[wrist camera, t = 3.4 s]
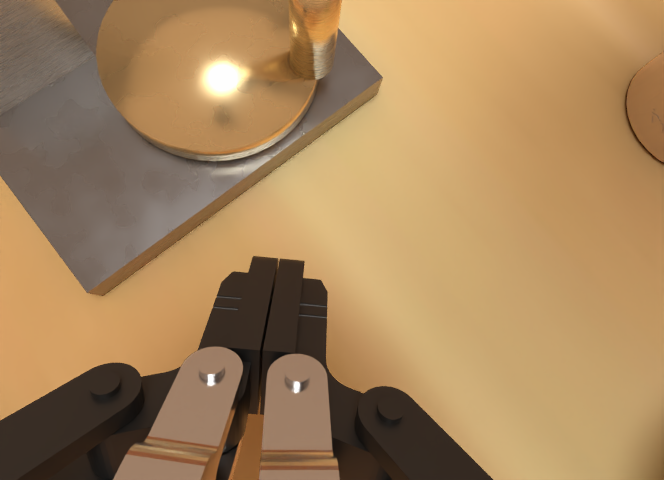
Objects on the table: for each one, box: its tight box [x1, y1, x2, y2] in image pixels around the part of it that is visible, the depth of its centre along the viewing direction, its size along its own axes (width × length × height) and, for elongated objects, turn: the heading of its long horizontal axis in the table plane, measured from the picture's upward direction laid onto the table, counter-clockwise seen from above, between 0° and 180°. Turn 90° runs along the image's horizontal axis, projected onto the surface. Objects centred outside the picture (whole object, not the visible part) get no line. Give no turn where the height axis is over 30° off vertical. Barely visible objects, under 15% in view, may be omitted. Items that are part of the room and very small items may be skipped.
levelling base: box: [0, 0, 383, 296], centre depth 25 cm, size 22×20×10 cm
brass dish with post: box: [96, 0, 342, 161], centre depth 23 cm, size 13×13×10 cm
